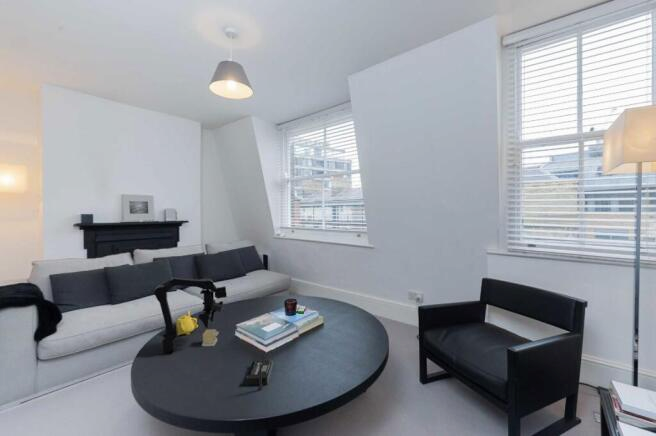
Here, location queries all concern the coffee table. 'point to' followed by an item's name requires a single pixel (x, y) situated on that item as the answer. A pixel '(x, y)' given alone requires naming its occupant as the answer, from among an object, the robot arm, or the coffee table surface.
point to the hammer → (211, 343)
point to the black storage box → (259, 372)
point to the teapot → (186, 324)
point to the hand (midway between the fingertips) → (209, 324)
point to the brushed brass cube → (209, 336)
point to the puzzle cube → (301, 309)
